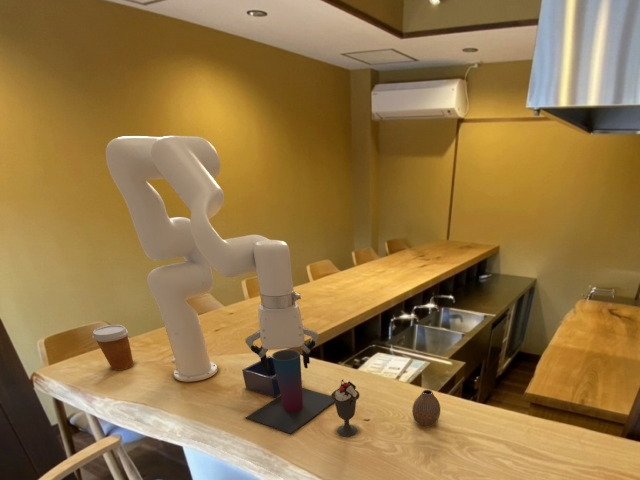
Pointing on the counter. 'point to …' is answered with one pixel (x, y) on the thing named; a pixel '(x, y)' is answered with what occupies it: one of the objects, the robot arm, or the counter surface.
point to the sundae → (346, 406)
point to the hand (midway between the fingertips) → (286, 368)
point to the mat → (291, 421)
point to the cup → (289, 378)
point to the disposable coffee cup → (114, 345)
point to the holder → (262, 379)
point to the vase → (426, 409)
